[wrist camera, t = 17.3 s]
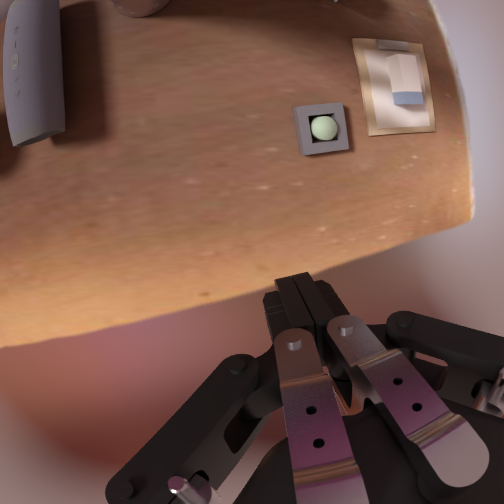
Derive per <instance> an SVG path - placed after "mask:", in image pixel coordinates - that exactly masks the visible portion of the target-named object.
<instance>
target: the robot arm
mask: <svg viewBox="0 0 504 504" xmlns="http://www.w3.org/2000/svg"><path fill="white" fill-rule="evenodd" d="M109 1H110V2H111V3H112V4H113V5H114V6H115V7H116V9H117V10H118V11H119V12H120V13H122V14H123V15H126V16H128V17H144V16H148V15H151V14H153V13H155V12H157V11H159V10H160V9H162V8H163V7H164V6H166V4H167V3H168V2H169V1H170V0H109ZM274 281H275V288H276V291H273V292H268V293H265V296H264V298H263V305H264V310H265V315H266V320H267V325H268V329H269V333H270V336H271V340H272V343H273V344H272V346H271V348H270V349H269V350H268V351H267V352H266V353H264V354H263V355H261V356H259V357H257V358H254V357H252V356H251V355H247V354H236V355H233V356H230V357H228V358H226V359H225V360H223V361H222V362H221V363H220V364H219V365H218V367H217V368H216V369H215V370H214V371H213V372H212V373H211V375H210V376H209V377H208V378H207V379H206V380H205V381H204V382H203V383H202V385H201V386H200V387H199V388H198V389H197V390H196V391H195V392H194V394H192V396H191V397H190V398H189V399H188V400H187V401H186V402H185V403H184V404H183V405H182V407H181V408H180V409H179V410H178V411H177V412H176V413H175V414H174V415H173V416H172V417H171V418H170V419H169V420H168V421H167V423H166V424H165V425H164V426H163V427H162V428H161V429H160V430H159V431H158V432H157V433H156V434H155V435H154V436H153V437H152V438H151V439H150V440H149V441H148V442H147V443H146V444H145V445H144V446H143V447H142V448H141V450H139V452H138V453H137V454H136V455H135V456H134V457H133V458H132V459H131V460H130V461H129V462H128V463H127V464H126V465H125V466H124V467H123V468H122V469H121V470H120V471H119V472H117V474H115V475H114V476H113V477H112V478H111V480H110V481H109V482H108V484H107V486H106V490H105V495H106V499H107V501H108V503H109V504H222V500H221V497H220V495H219V494H218V492H217V491H216V490H217V489H218V488H219V487H220V485H221V484H222V483H223V481H224V480H225V479H226V478H227V476H228V475H229V474H230V472H231V471H232V470H233V469H234V467H235V466H236V464H237V463H238V462H239V460H240V459H241V458H242V456H243V455H244V454H245V452H246V451H247V449H248V448H249V446H250V445H251V444H252V442H253V441H254V440H255V438H256V436H257V435H258V434H259V432H260V431H261V430H262V428H263V426H264V425H265V424H266V422H267V421H268V419H269V417H270V414H271V412H273V411H275V410H277V409H279V408H281V407H282V406H283V410H284V416H285V423H286V429H287V437H286V438H285V439H283V440H281V441H280V442H279V443H277V444H276V445H275V446H274V447H272V448H271V450H269V451H268V453H267V454H266V455H265V456H264V458H263V459H262V461H261V462H260V464H259V465H258V467H257V469H256V470H255V472H254V473H253V475H252V476H251V478H250V479H249V481H248V482H247V484H246V485H245V487H244V488H243V490H242V491H241V493H240V494H239V495H238V497H237V498H236V500H235V501H234V503H233V504H504V337H501V336H497V335H494V334H490V333H486V332H483V331H478V330H475V329H471V328H468V327H464V326H460V325H457V324H453V323H449V322H446V321H442V320H439V319H435V318H431V317H428V316H424V315H421V314H417V313H414V312H410V311H398V312H395V313H393V314H391V315H390V316H389V317H388V319H387V322H386V324H379V325H367V324H365V323H364V322H363V321H362V320H361V319H360V318H358V317H356V316H353V315H350V313H349V312H348V310H347V309H346V307H345V306H344V304H343V303H342V301H341V300H340V298H338V296H337V294H336V293H335V292H334V290H333V288H332V287H331V285H330V284H328V283H327V282H324V281H323V280H319V281H315V282H314V281H313V279H312V278H311V276H310V274H309V273H308V272H305V273H300V274H296V275H292V276H288V277H283V278H279V279H275V280H274ZM417 352H419V353H422V354H426V355H429V356H432V357H435V358H438V359H441V360H444V361H445V362H446V363H447V364H448V366H446V367H444V366H440V365H437V364H434V363H431V362H428V361H425V360H421V359H418V358H416V354H417ZM323 366H327V368H328V372H329V376H328V374H325V373H324V370H323ZM333 389H334V390H333ZM334 391H335V392H336V394H337V396H338V398H339V400H340V402H341V403H342V405H343V407H344V409H345V411H346V413H347V415H348V416H341V413H340V409H339V406H338V403H337V400H336V397H335V393H334Z"/></svg>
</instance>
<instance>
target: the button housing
mask: <svg viewBox="0 0 504 504" xmlns="http://www.w3.org/2000/svg"><path fill="white" fill-rule="evenodd" d="M292 109H293V115H294V120H295V126H296V132H297V138H298V144H299V150H300V154H301V155H310V154H317V153H323V152H330V151H338V150H345V149H349V144H348V137H347V129H346V122H345V116H344V109H343V103H342V102H340V103H327V104H317V105H307V106H299V107H293V108H292ZM321 114H330V118H332V119H333V120H334V121H335V122H336V124H337V133H336V135H335V136H334V137H333V139H332V140H324V141H317V142H312V137H311V131H310V125H309V119H308V116H312V115H321Z"/></svg>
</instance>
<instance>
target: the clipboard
mask: <svg viewBox="0 0 504 504" xmlns="http://www.w3.org/2000/svg"><path fill="white" fill-rule="evenodd" d="M351 41H352V45H353V50H354V54H355V59H356V64H357V69H358V74H359V79H360V85H361V91H362V97H363V103H364V109H365V116H366V123H367V131H368V136H372V135H384V134H397V133H413V132H436V128H435V118H434V109H433V101H432V94H431V87H430V81H429V75H428V70H427V64H426V59H425V54H424V50H423V45H422V44H417V43H409V42H402V41H392V40H381V39H364V38H352V39H351ZM396 54H404V55H414V56H415V57H416V62H417V67H418V72H419V78H420V83H421V90H422V96H423V103H424V104H395V105H394V100H393V93H392V87H391V81H390V76H389V70H388V65H387V60H386V57H389V56H392V55H396Z"/></svg>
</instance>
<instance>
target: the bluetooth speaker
mask: <svg viewBox="0 0 504 504" xmlns="http://www.w3.org/2000/svg"><path fill="white" fill-rule="evenodd" d="M3 83H4V97H5V106H6V114H7V121H8V127H9V132H10V136H11V140H12V143H13V146H14V147H23V146H26V145H30V144H33V143H36V142H39V141H42V140H44V139H46V138H48V137H50V136H52V135H55V134H60V133H62V132H64V131H65V106H64V88H63V55H62V43H61V28H60V7H59V0H15V1H14V2H13V3H12V4H11V6H10V9H9V12H8V16H7V21H6V27H5V36H4V50H3Z"/></svg>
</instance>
